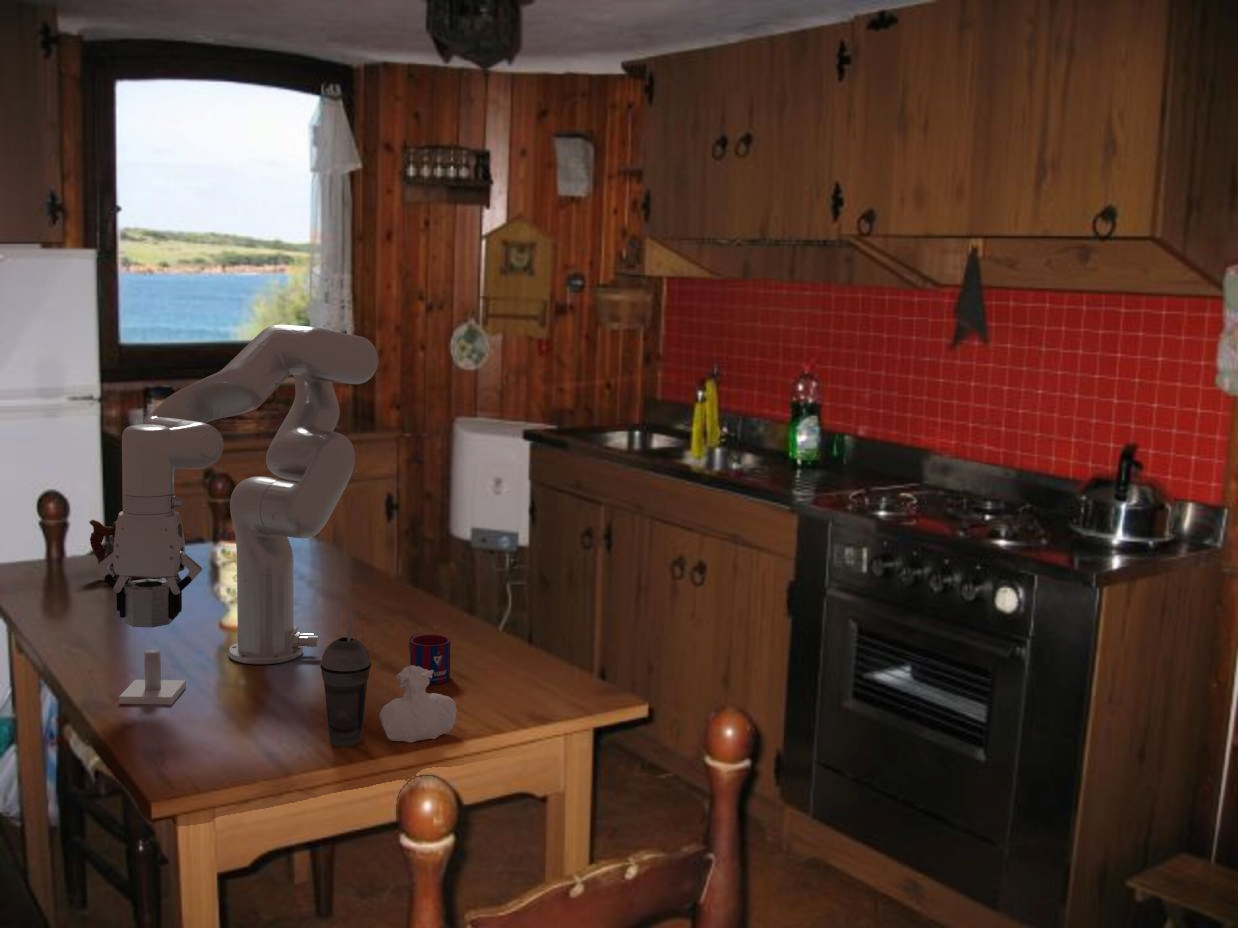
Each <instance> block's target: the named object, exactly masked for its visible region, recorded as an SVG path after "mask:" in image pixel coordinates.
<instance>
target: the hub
mask: <svg viewBox="0 0 1238 928" xmlns="http://www.w3.org/2000/svg"><path fill="white" fill-rule="evenodd" d="M170 594H171V589H170V587H169V585H168V583H167V581H166V579H165V578H155V579H154V578H153V579H142V580H135V581H129V582H128V583H127V584H126V585H124V612H125V616H124V618H123V619H124V621H123V622H124V624H126V625H128V626H130V627H133V628H157V627H161V626H168V625H170V624H171V623H172V622H173V621H175V618H174V619H170V618H169V595H170Z"/></svg>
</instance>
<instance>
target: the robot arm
mask: <svg viewBox="0 0 1238 928" xmlns="http://www.w3.org/2000/svg"><path fill="white" fill-rule="evenodd" d="M378 365H379V356H378V352H377V350H376V347H375V345H374V344H373V343H372V342H371V341H370V340H369V339H368V338H366V337H365V336H359V335H354V334H349V333H345V332H339V331H334V330H331V329H326V328H322V327H317V326H306V325H295V324H292V325H291V324H273V325H270V326H268V327H266V328H264V329H263V330H262V331H260V333H258V334H257V335H256V336H255V337H254V338H253V339H252V340H251V341H250V342H249V343H248V344H247V345H246V346H245V347H243V349H242V350H241V351H239V353H237V355H236V356H235V357H234V358H233V359H231V360H230V361H229V363H227V364H226V365H225V366H224V367H223V368H222V369H221V370H219V371H218V372H215V373H214V374H211V375H209V376H206V377H205V378H202V379H200V380H198V381H196V382H194V383H192V384H190V385H187V386H185V387H183V388H181V389H179V390H177V391H176V392H174V393H172V394H170V395H169V396H168V397H166V399H164V400H163V401H162V402H161V403H160V404H159V405H158V406H156V408H154V409H153V410H152V411H151V412H150V413H149V414H148V416H147V417H146V418H145V419H144V420H143V421H142V423H141V424H135V425H134V424H133V425H129V426H127V427H125V428H124V430H123V431H122V435H121V466H122V467H121V468H122V469H121V472H122V473H121V474H122V475H121V476H122V477H121V479H122V483H121V484H122V485H121V487H122V488H121V489H122V511H119V513H118V515H117V520H116V521H117V524H116V531H115V538H114V549H113V553H111V554H110V555H109V556H108V557H106V556H105V557H106V558H105V557H104V558H105V559H104V560H103V561H101V562H100V563H99V564H96V565H95V570H96V571H97V573H98V574H99V575H100V576H101V577H102V578H103V579H104V581H105V582H106V583H107V584H108V585H109V586H110V587H111V588H112V590H113V592H114V593H116V611H117V612H119V618H120V619H124V616H125V612H124V585H126V584H127V583H128V582H130V579H131V577H143V578H153V579H154V578H155V579H165V580H166V581H167V583H168V585H169V587H170V589H171V594H170V595H169V618H170V619H174V620H175V619H176V618H177V617H178V616H179V614H180V613H181V612H182V611H183V610H182V608H183V598H182V597H183V592H182V591H184V589H185V588H186V587H188V586H189V585H190V584H191V583H192V582H193V581H194V580H195V579H196V578H197V577H198V576H199V574H200V573H201V572H202V570H203V568H202V566H201V565H199V564H198V562H196V561H195V560H194V559H193V558H192V557H190V556H189V555H188V554H187V553H186V545H185V536H184V527H183V523H182V517H181V513H180V511H175V510H176V508H183V507H184V504H185V502H184V498H179V497H177V495H176V493H175V477H174V476H175V470H178V469H179V470H180V469H182V470H201V469H205V468H209V467H211V466H212V465H214V464H216V462H218V461H219V460H220V458H221V456H222V455H223V451H224V448H225V447H224V446H225V445H224V444H225V443H224V439H223V436H222V434H221V432H220V431H219V430H218V429H217V428H216V427H214V426H213V425H211V424H208V423H209V422H211V421H215V420H218V419H223V418H228V417H235V416H238V415H242V414H245V413H248V412H252V411H254V410H256V409H258V408H259V407H260V406H262V405H263V403H264V402H266V400H267V399H268V398H269V397H270V396H271V395H272V394H273V393H274V391H276V390H277V389H278V388H279V387H280V386H281V385H282V383H284V381H286V379H288V378H289V377H290V376H293V379H294V387H295V390H294V391H295V395H294V400H293V403H292V405H291V407H290V409H289V410H288V411H289V412H288V413H287V415H286V416H285V418H284V420H283V422H282V423H281V425H280V427H279V429H278V431H277V432H276V433H275V436H273V437H274V438H273V439H272V441H271V443H270V445H269V447H268V449H267V452H266V455H265V462H266V463H265V464H266V466H267V469H268V470H269V471H270V473H272V475H274V476H276V477H270V476H251V477H249V478H245V479H243V480H242V481H240V482H239V483H237V485H236V486H235V487H234V489H233V490H232V492H231V495H230V500H229V510H230V511H229V512H230V517H231V521H232V526H233V531H234V536H235V544H236V545H235V546H236V586H237V587H236V599H237V600H236V602H237V605H236V608H237V609H236V610H237V612H236V613H237V614H236V615H237V642H236V643H233V644H232V645H230V646H229V648H228V657H229V658H230V659H231V660H233V661H235V662H238V663H240V664H241V663H243V664H249V665H273V664H274V665H275V664H281V663H284V662H285V663H286V662H289V661H292V660H295V659H297V658H299V657H300V656H301V655H302V654H303V652H304V651H303V650H304V649H303V647H308V648H318V647H319V639H320V638H319V636H318V635H315V633H307V632H306V633H302V632H301V631H299V629H298V627H299V625H298V624H297V625H296V624H294V616H295V615H294V614H295V613H294V609H295V608H294V601H295V600H294V566H295V565H294V553H293V549H292V545H291V543H290V539H289V538H294V539H295V538H296V539H310V538H312V537H314V536H317V534H319V533H320V532H321V531H322V530H323V528H324V527H325V525H326V524H327V523H328V521H329V520H330V518H331V516H332V514H333V512H334V510H335V508H336V507H337V504H338V502H339V500H340V499H341V497H342V495H343V493H344V491H345V489H346V487H347V485H348V483H349V482H350V479H351V477H352V474H353V472H354V469H355V462H356V453H355V448H354V445H353V443H352V441H350V439H349V438H348V437H347V436H346V435H344V434H342V433H340V432H337V431H334V430H335V428H336V427H337V424H338V421H339V418H340V414H341V413H340V405H339V400H338V398H337V395H336V392H335V389H334V386H333V383H340V384H349V385H351V384H352V385H360V384H364V383H366V382H368V381H369V380H370V379H372V377H374V375H375V373H376V371H377V369H378ZM277 477H278V478H277ZM288 537H289V538H288ZM112 563H113V569H114V572H115V573H116V574H117V575H119V577H118V576H117V575H116V574H115V573H113V572H112V571H111V570H110V568H109V566H110V565H111V564H112ZM185 568H186V569H187V570H188V573H187V574H186V576H184V577H183V579H182V578H181V576H180V574H179V573H180V572H182V571H184V570H185Z"/></svg>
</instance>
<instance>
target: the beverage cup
mask: <svg viewBox="0 0 1238 928" xmlns="http://www.w3.org/2000/svg"><path fill="white" fill-rule="evenodd" d="M353 616H354V610H352V609H350V610H349V615H348V626H347V636H346V637H345V636H343V637H341V638H339V637H338V638H337V639H335V640H333V641H332V642H331V643H329V644H328V646H327V647H326V648H325V649H324V652H323V655H322V657H321V663H320V667H319V668H320V669H321V676H322V681H323V684H324V685H323V686H324V695H325V696H324V697H325V706H326V707H325V709H326V716H327V717H326V719H327V729H328V734H329V735H328V736H329V743H330V744H331V745H332V746H335V747H342V748H347V747H353V746H357V745H359V744H360V743H362V735H363V729H364V720H365V710H366V709H365V707H366V700H367V698H366V697H367V688H368V681H369V677H370V672H371V667H372V662H371V658H370V657H371V656H370V654H369V651H368V649H367V648H366V646H365V645H364V644H363V643H362V642H361V641H360V640H358V639H356V638H353V637H352V631H353V620H354V619H353Z"/></svg>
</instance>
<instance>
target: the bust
mask: <svg viewBox="0 0 1238 928" xmlns="http://www.w3.org/2000/svg"><path fill="white" fill-rule="evenodd" d="M433 672H434V670H430V671H428V670H427V669H423V668H421V667H420V666H418V667H417V666H414V665H413V666H412V665H410V664H409V665H408V666H406V667H404V668H402V669H401V671H400V672H399V673H398V674H396V675H395V679H396V680H397V681H399V689H400V688H401V689H402V688H404V687H405V689H404V693H403V696H402V697H397V698H394V699H392V700H391V701H389V702H388V703H386V704H384V706H383V707H382V708H381V710H380V712H379V714H378V717H379V720H380V723H381V726H382V728H383V731H384V733H385V734H386V737H387V739H389V740H390V741H393V742H406V743H411V744H412V743H414V742H418V741H424V740H425V741H426V740H429V739H431V740H435V739H437V738H438V737H440V736H441V735H445V734H447V733H449V732H450V731H452V729H453V728H454V726H455V724H456V720H457V704H456V702H455V700H454V699H453V698H451V697H450V696H448V695H443V694H441V693H437V692H436V693H435V692H431V693H428V692H427V691H426V689H427V687H428V686H430V685H429V683H430V682H429V678H432V674H433ZM428 677H429V678H428Z"/></svg>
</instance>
